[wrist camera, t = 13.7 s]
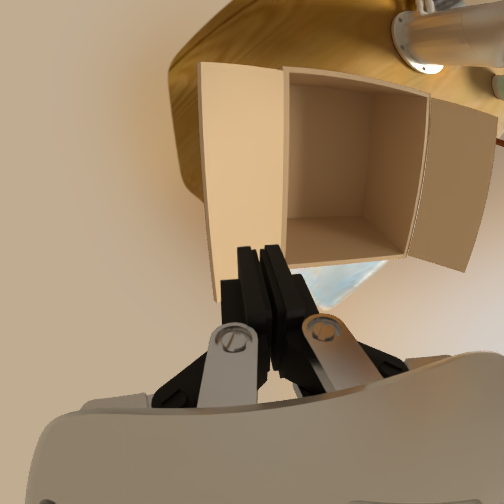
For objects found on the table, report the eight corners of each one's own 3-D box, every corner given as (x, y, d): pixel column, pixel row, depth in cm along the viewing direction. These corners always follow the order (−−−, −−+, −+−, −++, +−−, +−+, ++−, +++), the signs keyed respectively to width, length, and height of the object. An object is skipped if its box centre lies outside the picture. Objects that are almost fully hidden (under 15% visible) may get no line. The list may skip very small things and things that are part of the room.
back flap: (497, 117, 19) (496, 117, 19) (431, 97, 23) (431, 98, 23) (464, 272, 29) (464, 270, 29) (407, 255, 33) (408, 253, 34)
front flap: (283, 70, 21) (279, 71, 22) (200, 61, 16) (197, 62, 16) (280, 266, 32) (276, 265, 32) (217, 303, 26) (214, 300, 27)
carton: (260, 80, 33) (282, 66, 21) (373, 91, 35) (430, 93, 23) (261, 221, 44) (279, 269, 32) (362, 217, 46) (406, 257, 34)
